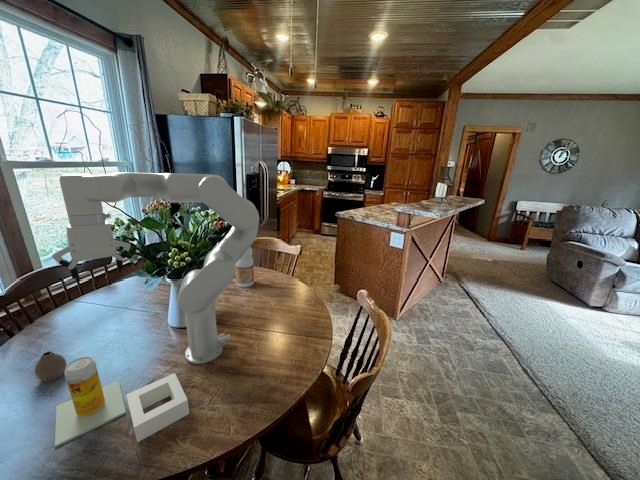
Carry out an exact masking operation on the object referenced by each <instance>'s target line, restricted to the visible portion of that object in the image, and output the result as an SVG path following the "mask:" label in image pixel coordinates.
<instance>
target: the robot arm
mask: <svg viewBox="0 0 640 480" xmlns="http://www.w3.org/2000/svg"><path fill="white" fill-rule="evenodd" d="M59 185H60V189H61V193H62V196H63V202H64V205H65V210H66V214H67V219H68V222H69V224H68V225H66V238H67V244H68V246H66V247H64V248H62V249H60V250H58V251H56V252H55V253H53V254H52V255H51V257H52V259H53V260H54V261H56V262H57V263H59V265H60V266H62V267H64V268H67V269H69V270H70V274H71V278H72V280H74V279H75V282H76V283H80V281H81V280H80V279H81V278H80V274H79V270H78V265H77V264H79V262H84V261H91V260H97V259H102V258H109V257H113V258H114V259H115V264H116V269H117V272H118V274H122V273H123V272H122V270H124V269H125V268H124V264H123V260H124V258H126V256H127V255H128V253H129V251H130V249H131V246H132V245H131V243H129V242H126V241H120V240H118V239H117V240H116V239H115V236H114V234H113V231H112V227H111V225H110V223H109V221H107V219H112V217H111V213H106V212H104V210H103V209H104V208H103V204H102V203H118V202H121V201H123V200H126V199H127V198H156V199H161V200H164V201H166V202H169V203H204V205H206V206H207V208H209V209H210V210H211V211H213V212H214V213H215V214H216V215H218V217H220V218H221V219H223V220H224V221H225V222H226V223H228V224H229V225H230V226H231V228H230V230H229V231H228V232H227V233H226V235H225V236H224V237H223V239H221V241H220V242H219V243H218V244H217V245H216V246H215V247H213V249H212V250H210V252H209V253H208V254H207V255H206V256H205V258H204V262H203V267H202V268H201V269H200V268H199V269H193V270H191V271H189V272H187V274H186V275H185V276H184V277H183V279H182V282H181V284H180V289H179V293H178V296H177V302H178V306H179V307H180V309H182V310H183V311H184V315H185V325H186V332H187V343H188V347H187V348H186V349H185V352H184V358H185V360H186V361H187V362H188V363H191V364H193V365H202V364H206V363H210V362H212V361H215V360H216V359H217V358H218V357H219V356H220V355H221V354H222V352H223V347H224V345H223V343H224V342H227V341H229V340H232V339H231V338H232V336H231V335H230V334H227V335H226V334H225V332H223V333H220V334H219V335H218V330H217V329H218V328H217V318H216V316H217V315H216V305H215V303H216V302H215V301H216V300H217V299H218V298H219V296H221V295H222V293H224V291H225V290H227V288H228V287H229V285H231V283H232V282H233V281H234V278H235V275H236V263H237V262H238V260H239V259H240V258H241V257H242V256H243V255H244V254H245V252H246V251H247V250H248V249H249V248H250V247H251V246H253V244H254V241H255V240H256V237H257V235H258V230H259V223H260V214H259V211H258V209H257V207H256V206H255V205H254V203H253V202H252V201H250V200H249V199H245V198H244V197H243V196H241V195H240V194H239V193H238V192H237V191H236V190H234V189H233V188H232V187H231V186H230V185H229V184H228V182H227V181H226V179H225V178H224V177H223V176H220V175H219V174H211V173H210V174H209V173H177V172H176V173H173V172H172V173H171V172H162V173H160V172H159V173H158V172H157V173H156V172H155V173H153V172H129V171H128V172H124V171H123V172H122V171H121V172H119V171H118V172H111V173H105V174H99V175H98V174H97V175H93V174H90V173H77V172H76V173H63V174H62V175H60V176H59ZM117 246H118V247H123V250H122V251H120V253H119V252H118V251H117ZM68 253H69V255H70V257H71V260H70V261H68V259H67V260H66V259H64V257H63V256H65V255H67V254H68Z"/></svg>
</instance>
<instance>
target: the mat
mask: <svg viewBox="0 0 640 480" xmlns="http://www.w3.org/2000/svg"><path fill="white" fill-rule="evenodd" d="M101 387H102V390H103V394H104V398H105V403H104V405H103V406H102V408H101V409H100V410H99V411H98V412H96V413H95V414H93V415H90V416H87V417H82V416H78V415H77V414H76V411H75V407H74V404H73V401H72V399H70V400H68V401H65V402H63V403H61V404H58V405H56V406H55V408H56V409H55V428H54V429H55V432H54V433H55V434H54V448H57V447H59V446H62V445H64V444H65V443H67V442H70V441H72V440H73V439H77V438H78V437H80V436H82V435H84V434H86V433H88V432H90V431H92V430H95V429H96V428H99V427H101V426H102V425H105V424H107V423H109V422H112V421H114V420H115V419H118V418H119V417H122V416H123V415H125V414H126V408H125V404H124V403H125V402H124V398H123V393H122V388H121V385H120V381H119V380H115V381H114V382H110V383H109V384H106V385H104V386H101Z"/></svg>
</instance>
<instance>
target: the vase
mask: <svg viewBox="0 0 640 480" xmlns="http://www.w3.org/2000/svg"><path fill="white" fill-rule="evenodd" d="M67 365H68V364H67V361H66V359H65V357H63V355H61V354H59V353H55V352H53V351H52V350H51V351H46V352H44V353H42V354H41V356H40V358H39V360H38V361H37V362H36V364H35V367H34V374H35V377H36V378H37V379H38V380H39V381H41V382H45V383H49V382H53V381H56V380H58V379H60V378H61V377H62V376H63V375H65V374H64V372H65V368H66V366H67Z"/></svg>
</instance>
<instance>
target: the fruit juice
mask: <svg viewBox="0 0 640 480" xmlns="http://www.w3.org/2000/svg"><path fill="white" fill-rule="evenodd" d="M253 253H254V251H253V249H252V247H251V246H250V248H249V249H248V250H247V251H246V252H245V254H244V255H243V256H242V257H241V258H240V259H239V260H238V262H237V263H236V265H235V267H236V273H235V275H236V286H237V287H239V288H249V287H252V286H253V285H254V283H255V276H254V274H255V271H254V258H253Z"/></svg>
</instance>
